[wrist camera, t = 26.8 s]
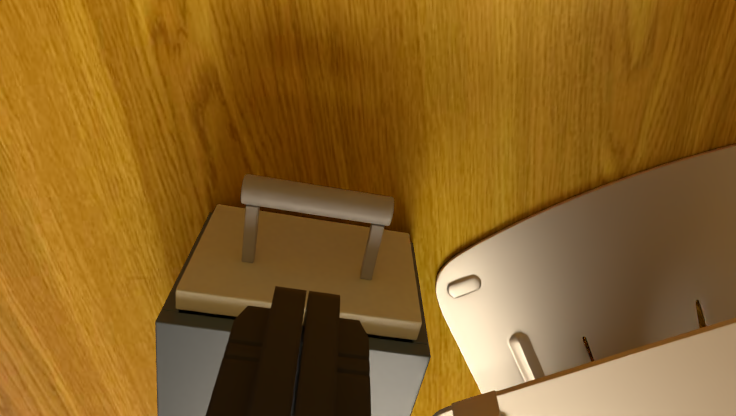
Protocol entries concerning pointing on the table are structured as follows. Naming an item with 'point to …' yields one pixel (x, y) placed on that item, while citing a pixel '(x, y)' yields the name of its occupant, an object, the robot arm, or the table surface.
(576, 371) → the laptop stand
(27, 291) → the table surface
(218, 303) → the drawer with bar handle
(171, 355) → the small drawer unit
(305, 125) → the table surface
